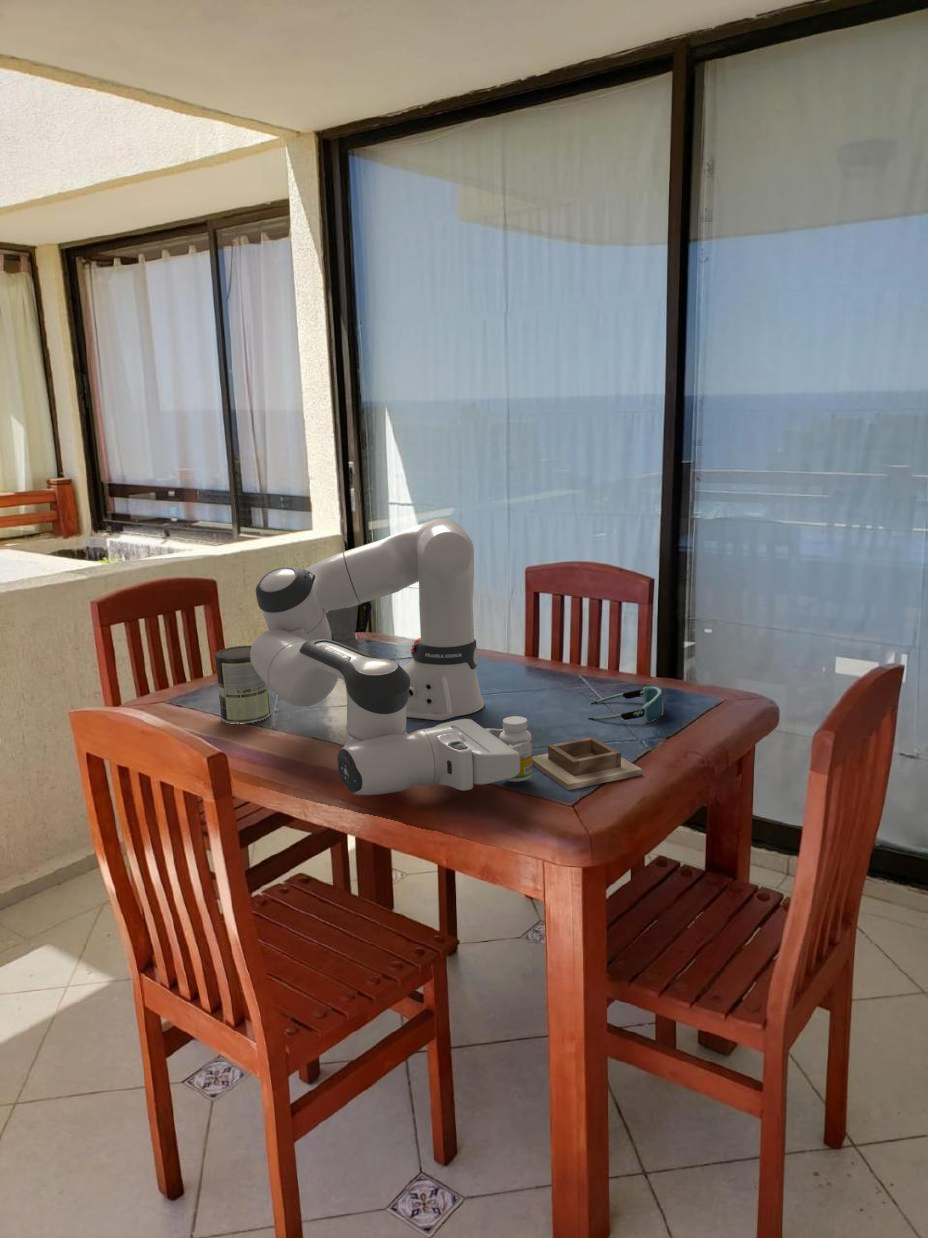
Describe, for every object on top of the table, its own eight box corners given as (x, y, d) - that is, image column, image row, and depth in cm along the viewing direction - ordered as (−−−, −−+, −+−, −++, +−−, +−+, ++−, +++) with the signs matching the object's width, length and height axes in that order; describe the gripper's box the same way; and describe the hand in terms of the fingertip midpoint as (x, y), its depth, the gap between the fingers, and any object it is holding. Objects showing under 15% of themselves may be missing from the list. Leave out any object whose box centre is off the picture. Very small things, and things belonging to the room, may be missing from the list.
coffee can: (210, 720, 192) (203, 654, 189) (248, 706, 201) (242, 643, 198) (244, 728, 186) (238, 660, 184) (281, 714, 195) (276, 648, 192)
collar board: (568, 790, 150) (568, 769, 149) (528, 762, 163) (528, 743, 162) (641, 774, 155) (642, 755, 155) (598, 749, 168) (598, 730, 167)
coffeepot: (328, 672, 226) (323, 599, 222) (311, 664, 234) (306, 594, 230) (383, 661, 235) (379, 590, 231) (364, 654, 242) (360, 586, 238)
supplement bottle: (498, 771, 156) (496, 715, 154) (529, 769, 157) (528, 713, 154) (502, 783, 151) (500, 726, 149) (534, 781, 151) (533, 724, 149)
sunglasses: (665, 725, 180) (662, 701, 179) (588, 733, 183) (584, 709, 182) (664, 703, 193) (661, 680, 192) (592, 711, 197) (589, 688, 196)
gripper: (420, 752, 158) (494, 739, 163) (467, 795, 139) (549, 778, 144) (418, 717, 156) (493, 704, 161) (466, 755, 138) (549, 740, 143)
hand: (520, 740), depth 153 cm, fingers closed on supplement bottle, 5 cm apart
